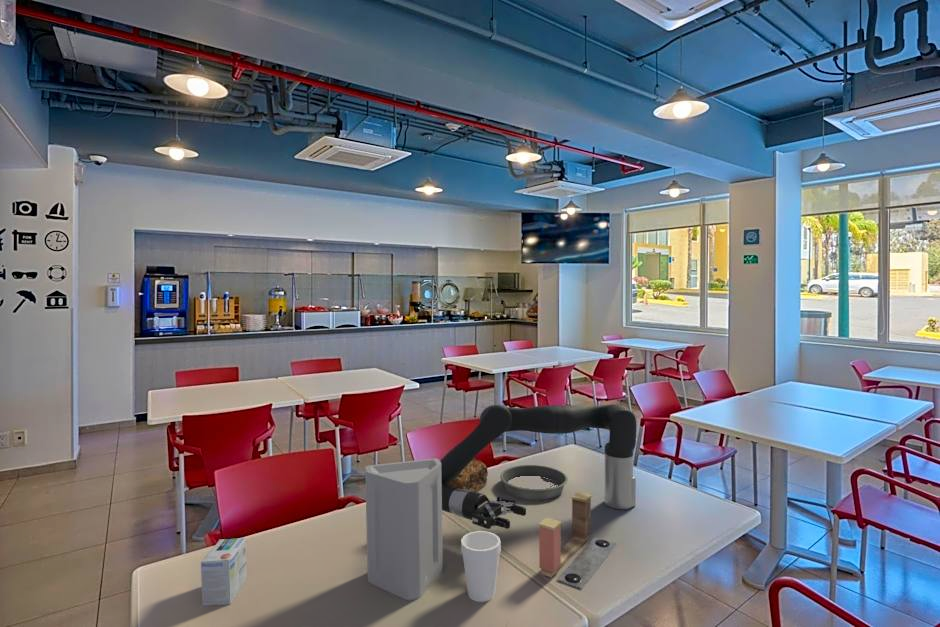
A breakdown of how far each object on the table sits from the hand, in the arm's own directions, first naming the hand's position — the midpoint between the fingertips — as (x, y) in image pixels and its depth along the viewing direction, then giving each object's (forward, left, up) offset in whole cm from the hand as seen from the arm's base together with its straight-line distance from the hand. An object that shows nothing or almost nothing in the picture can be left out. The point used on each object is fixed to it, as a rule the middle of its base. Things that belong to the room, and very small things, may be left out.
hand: (517, 518), depth 131 cm
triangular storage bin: (+29, +5, -12) cm, 32 cm away
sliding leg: (-7, +7, -10) cm, 14 cm away
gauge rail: (-14, 0, -12) cm, 18 cm away
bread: (+7, -48, -12) cm, 50 cm away
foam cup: (+12, +13, -12) cm, 21 cm away
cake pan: (-19, -46, -12) cm, 51 cm away
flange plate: (-18, +4, -12) cm, 22 cm away
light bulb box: (+73, +1, -12) cm, 74 cm away
